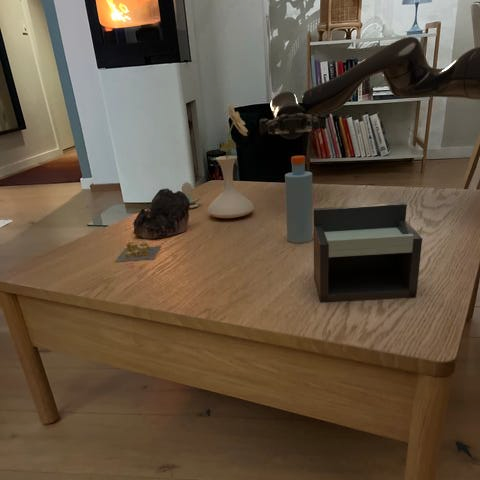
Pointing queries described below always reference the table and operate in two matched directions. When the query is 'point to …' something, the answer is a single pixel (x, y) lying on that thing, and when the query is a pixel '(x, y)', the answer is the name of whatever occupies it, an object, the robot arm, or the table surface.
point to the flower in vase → (230, 179)
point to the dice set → (138, 252)
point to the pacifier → (189, 194)
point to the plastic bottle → (299, 202)
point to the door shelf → (365, 253)
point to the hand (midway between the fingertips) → (294, 127)
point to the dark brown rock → (163, 215)
